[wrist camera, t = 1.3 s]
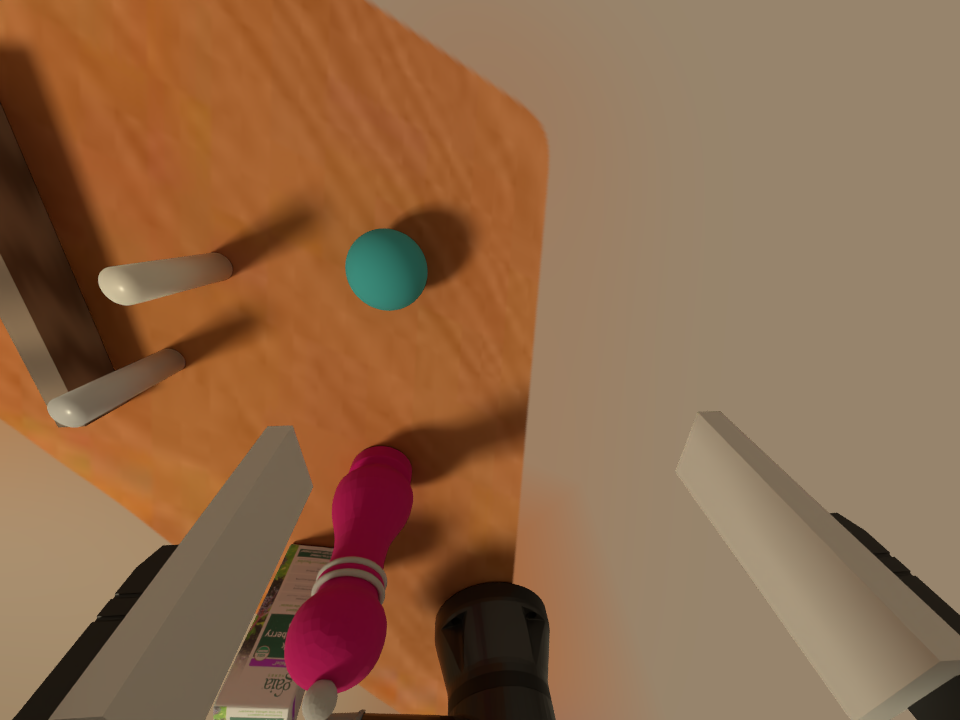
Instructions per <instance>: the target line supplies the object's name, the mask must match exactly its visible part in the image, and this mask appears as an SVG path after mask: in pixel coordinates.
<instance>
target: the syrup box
mask: <svg viewBox="0 0 960 720" xmlns="http://www.w3.org/2000/svg"><path fill="white" fill-rule="evenodd" d="M333 549H334V548H326V547H316V546H305V545H298V544H291V545H290V547H289V549H288V551H287V553H286V555H285V558H284V560H283V562H282V564H281V566H280V568H279V570H278V572H277V574H276V576H275V578H274V580H273V583H272V585H271V587H270V589H269V591H268V593H267V595H266V597H265V599H264V601H263V603H262V605H261V607H260V609H259V612H258V614H257V616H256V618H255V620H254V622H253V624H252V626H251V628H250V631H249V632H248V634H247V637H246V639H245V641H244V643H243V645H242V647H241V649H240V651H239V653H238V655H237V657H236V659H235V661H234V664H233V665H232V667H231V669H230V672H229V674H228V676H227V678H226V680H225V682H224V684H223V686H222V688H221V690H220V692H219V695H218V697H217V699H216V701H215V704H214V712H213V713H214V720H296V719H297V715H298V712H299V709H300V705H301V702H302V698H303V695H304V692H305V690H304V689H303V688H301V687H300V686H298V685H297V684H296V683H295V682H294V681H293V679H292V678H291V677H290V675H289V673H288V671H287V668H286V664H285V660H284V649H285V641H286V636H287V632H288V629H289V626H290V624H291V622H292V620H293V618H294V616H295V614H296V612H297V610H298V609H299V608H300V607H301V605H302V604H303V603H304V602H306V601H307V600H308V599H309V598H310V597H311V592H312V588H313V586H314V584H315V582H316V577H317V575H318V572H319V571H320V569H321V568H322V567H323V566H324V565H326V564H327V563H328V562H329V561H330V559H331V557H332V553H333Z"/></svg>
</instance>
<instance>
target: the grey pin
mask: <svg viewBox="0 0 960 720" xmlns="http://www.w3.org/2000/svg"><path fill="white" fill-rule="evenodd" d="M184 367H185V359H184V357H183V356H182V355H181V354H180V353H179V352H178V351H176V350H173V349H163V350H161V351H158V352H156V353H154V354H152V355H149V356H147V357H145V358H143V359H141V360H138V361H136V362H134V363H132V364H129V365H127V366H125V367H123V368H121V369H118V370H116V371H114V372H112V373H110V374H107V375H105V376H103V377H101V378H98V379H96V380H94V381H92V382H90V383H87V384H85V385H83V386H81V387H78V388H76V389H74V390H72V391H70V392H67V393H65V394H63V395H61V396H59V397H56V398H54V399H52V400H51V401H50V402H49V403H48V406H47V409H48V412H49V414H50V416H51V417H52V418H53V419H54V420H55V421H57V422H58V423H60V424H62V425H64V426H68V427H80V426H82V425H84V424H86V423H88V422H89V421H91V420H93V419H95V418H97V417H98V416H100V415H102V414H104V413H106V412H107V411H109V410H111V409H113V408H114V407H116V406H118V405H120V404H122V403H123V402H125V401H127V400H129V399H131V398H132V397H134V396H136V395H138V394H140V393H141V392H143V391H145V390H147V389H148V388H150V387H152V386H154V385H156V384H157V383H159V382H161V381H163V380H165V379H166V378H168V377H170V376H172V375H174V374H175V373H177V372H179V371H181V370H182V369H183V368H184Z"/></svg>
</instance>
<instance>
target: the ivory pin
mask: <svg viewBox="0 0 960 720" xmlns="http://www.w3.org/2000/svg"><path fill="white" fill-rule="evenodd" d="M232 272H233V268H232V264H231V262H230V261H229V260H228V259H227V258H226V257H225V256H224V255H222V254H220V253H206V254H199V255H192V256H185V257H177V258H170V259H163V260H156V261H148V262H141V263H134V264H127V265H119V266H112V267H107V268H105V269H103V270H102V271H101V272H100V274H99V276H98V283H99V287H100V289H101V290H102V292H103V293H104V294H105V296H106V297H108V298H109V299H110V300H112V301H113V302H115V303H118V304H121V305H134V304H137V303H141V302H145V301H149V300H152V299H156V298H160V297H164V296H167V295H171V294H175V293H179V292H182V291H186V290H190V289H194V288H197V287H201V286H205V285H208V284H212V283H216V282H220V281H223V280H227V279H228V278H230V277H231V275H232Z"/></svg>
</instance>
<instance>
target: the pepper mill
mask: <svg viewBox="0 0 960 720" xmlns="http://www.w3.org/2000/svg"><path fill="white" fill-rule="evenodd" d="M411 477H412V466H411V464H410V461H409V460H408V458H407V457H406V456H405V455H404V454H403V453H401V452H400V451H399V450H396V449H394V448H391V447H386V446H376V447H371V448H368V449H365V450H364V451H362V452H361V453H359V454H358V455H357V456H356V458H355V459H354V461H353V463H352V466H351V468H350V471H349V473H348V474H347V475H346V476H345V477H344V478H343V479H342V480H341V482H340V483H339V485H338V486H337V489H336V492H335V495H334V499H333V504H332V520H333V527H334V535H335V542H334V549H333V553H332V557H331V559H330V561H329V562H328V563H327V564H326V565H324V566H323V567H322V568H321V569H320V571H319V572H318V575H317V577H316V582H315V584H314V586H313V588H312V592H311V597H310V598H309V599H308V600H307V601H306V602H304V603H303V604H302V605H301V607H300V608H299V609H298V610H297V612H296V614H295V616H294V618H293V620H292V622H291V624H290V626H289V629H288V632H287V636H286V641H285V649H284V660H285V664H286V668H287V671H288V673H289V675H290V677H291V678H292V679H293V681H294V682H295V683H296V684H297V685H298V686H300V687H301V688H303V689H304V690H307V693H306V694H305V697H304V699H303V704H302V711H303V716H304V718H305V719H306V720H326V719H327V718H328V717H329V716H330V715H331V713H332V712H333V710H334V708H335V706H336V702H337V693H340V692H343V691H346V690H348V689H350V688H352V687H353V686H355V685H357V684H358V683H359V682H360V681H362V680H363V679H364V678H365V677H366V676H367V675H368V674H369V673H370V671H371V670H372V669H373V667H374V666H375V664H376V662H377V661H378V659H379V656H380V654H381V651H382V649H383V646H384V642H385V637H386V630H387V621H386V616H385V612H384V609H383V606H382V603H383V601H384V598H385V589H386V586H387V577H386V574H385V572H384V571H383V568H384V562H385V558H386V554H387V551H388V548H389V546H390V544H391V543H392V541H393V540H394V539H395V537H396V536H397V535H398V534H399V532H400V531H401V530H402V528H403V527H404V525H405V523H406V522H407V520H408V518H409V515H410V512H411V508H412V504H413V492H412V488H411V486H410V483H411Z"/></svg>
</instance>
